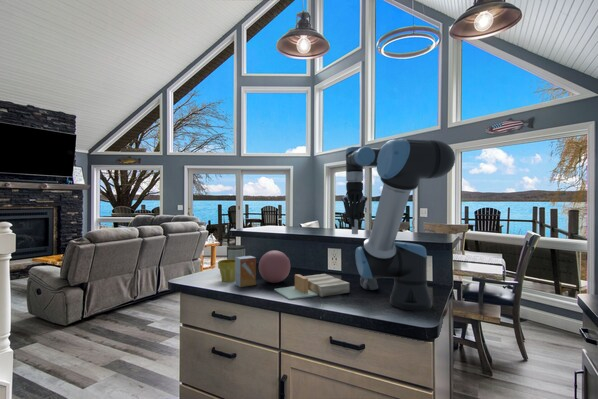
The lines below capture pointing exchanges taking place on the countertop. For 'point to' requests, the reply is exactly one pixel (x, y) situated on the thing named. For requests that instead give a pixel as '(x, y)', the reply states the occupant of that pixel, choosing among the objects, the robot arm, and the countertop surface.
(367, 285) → the mineral rock
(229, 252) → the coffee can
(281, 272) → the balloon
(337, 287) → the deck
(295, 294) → the mat
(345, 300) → the countertop surface
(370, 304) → the countertop surface
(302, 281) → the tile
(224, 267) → the plant pot
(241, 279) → the small box
